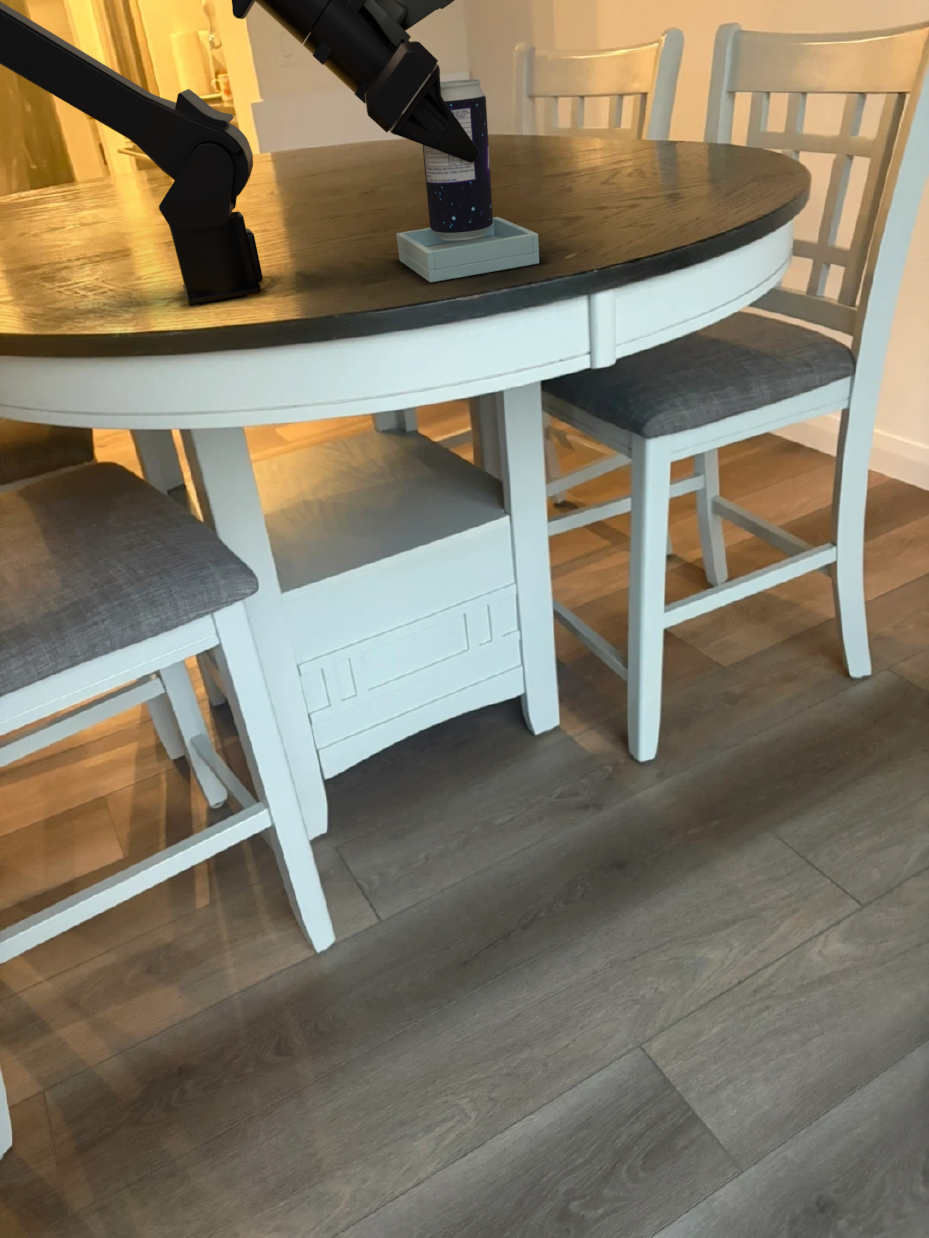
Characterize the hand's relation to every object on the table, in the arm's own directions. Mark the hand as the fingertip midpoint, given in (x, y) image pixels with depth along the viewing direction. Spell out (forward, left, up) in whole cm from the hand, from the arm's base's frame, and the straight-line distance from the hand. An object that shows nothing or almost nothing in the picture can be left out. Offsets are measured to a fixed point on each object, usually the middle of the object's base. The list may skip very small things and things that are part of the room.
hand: (471, 153), depth 79 cm
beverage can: (-1, 0, -7) cm, 7 cm away
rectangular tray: (-1, 0, -9) cm, 9 cm away
